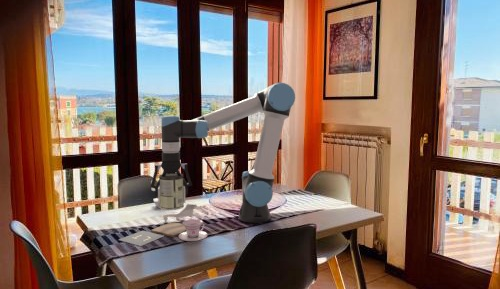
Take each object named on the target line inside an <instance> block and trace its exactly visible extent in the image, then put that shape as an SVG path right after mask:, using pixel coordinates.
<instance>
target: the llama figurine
mask: <svg viewBox="0 0 500 289" xmlns="http://www.w3.org/2000/svg"><path fill="white" fill-rule="evenodd" d="M196 209H199V210H200V211H202V212H203V213H205V214H206V215H209V211H207V210H205V209H203V208H202V206H199V205H198V204H197V203H189V202H188V203H187V202H186V205H184V207H183V208H181V210H180V211H179V212H177V213H175V212H171V213H164V214H163V215H162V217H163V218H162V219H163V221H164V222H165V223H167V222H168V220H169V219H168V217H173V218H186V217H190V218H192V217H195V218H200V219H204V220H205V221H206V220H207V219H208V218H207V217H206V216H203V215H199V214H197V213H196V214H195V213H194V210H196Z"/></svg>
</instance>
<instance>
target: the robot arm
mask: <svg viewBox="0 0 500 289" xmlns="http://www.w3.org/2000/svg"><path fill="white" fill-rule="evenodd" d="M295 99H296V94H295V91H294V89H293V87H292V86H290V84H287V83H286V82H276V83H273V84H271V85H269V86H267V88H264V89H263V90H260V91H258V92H256V93H254V95H253V96H252V97H249V98H246V99H243V100H241V101H238V102H236V103H233V104H230V105H228V106H225V107H223V108H220V109H217V110H214V111H212V112H209V113H207V114H204V115H201V116H198V117H196V118H193V119H191V120H190V119H189V120H188V119H187V120H183V119H180V115H162V117H161V125H160V127H161V132H160V133H161V151H162V152H161V160H162V161H161V164H156V163H155V164H154V172H153V175H152V180H151V181H152V183H151V182H150V188H155V191H154V194H155V197H157V198H158V204H160V188H158V187H159V185H160V179H159V178H158V179H159V180H158V182H156V179H157V176H158V173H159V170H161V168H162V170H163V171H162V173H161V174H160V175H161V176H162V177H164V176H165V175H166V174H167V173H168V174H170V173H173V174H174V173H177V175H178V176H181V174H182V173H181V172H180V171H179V170H180V168H181V167H182V169H183V170H184V173H185V175H186V178H187V181H186V180H185V178H184V177H183V197H184V204H185V203H186V196H187V195H188V194H189V187H191V186H193V183H192V180H191V176H190V174H189V170H188V166H189V165H188V163H181V152H180V151H181V142H180V141H181V139H184V138H185V139H188V138H189V139H195V138H196V139H204V138H205V139H206V138H207V137H208V132H210V131H212V130H215V129H217V128H221V127H223V126H226V125H229V124H231V123H234V122H236V121H240V120H242V119H244V118H247V117H249V116H253V115H255V114H257V113H263V114H264V119H263V124H262V126H261V133H260V136H259V142H258V146H257V151H256V154H255V159H254V162H253V163H254V164H253V167H252V169H251V170H246V171H243V172H242V174H241V175H242V176H241V179H242V180H241V181H242V185H241V186H242V190H241V191H242V193H241V194H242V195H241V196H242V198H241V199H242V201H241V205H240V208H239V211H238V219H239V220H240V221H242V222H245V223H250V224H252V223H253V224H254V223H255V224H258V223H260V224H261V223H265V222H268V221H269V220H270V219H271V212H270V209H269V206H268V204H269V203H270V202H271V201H272V198H273V196H274V192H273V191H274V190H273V186H274V181H275V175H274V174H273V170H274V167H275V162H276V158H277V153H278V149H279V144H280V141H281V136H282V132H283V127H284V123H285V120H286V119H288V118H289V117H290V113H291V108H292V107H293V106H294V103H295V101H296V100H295ZM155 183H156V184H155Z"/></svg>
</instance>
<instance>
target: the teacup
mask: <svg viewBox="0 0 500 289" xmlns="http://www.w3.org/2000/svg"><path fill="white" fill-rule="evenodd" d="M181 224H183V225H184V226H185V228H186V232H183V233H180V234H179V235H178V238H179V240H182V241H186V242H197V241H201V240H204V239H206V238H207V237H208V233H207V232H206V231H203V230H204V229H205V224H206V223H205V222H204V221H203V220H201V219H187V220H184V221H182V223H181ZM201 226H202V228H201ZM200 228H201V229H200Z"/></svg>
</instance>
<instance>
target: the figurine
mask: <svg viewBox="0 0 500 289" xmlns="http://www.w3.org/2000/svg"><path fill="white" fill-rule="evenodd" d="M156 179H157V182H158V180H159V178H156ZM157 182H156V183H157ZM151 183H152V180H150V184H151ZM150 188H151V187H150ZM158 188H160V185H159V187H158ZM151 191H153V192H155V188H151ZM152 200H153V203H154V204H155V207H156V208H160V204H158V197H156V198H153V199H152ZM160 209H161V208H160Z"/></svg>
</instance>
